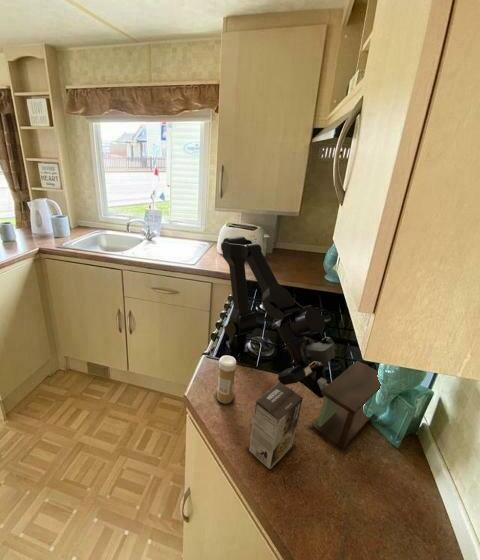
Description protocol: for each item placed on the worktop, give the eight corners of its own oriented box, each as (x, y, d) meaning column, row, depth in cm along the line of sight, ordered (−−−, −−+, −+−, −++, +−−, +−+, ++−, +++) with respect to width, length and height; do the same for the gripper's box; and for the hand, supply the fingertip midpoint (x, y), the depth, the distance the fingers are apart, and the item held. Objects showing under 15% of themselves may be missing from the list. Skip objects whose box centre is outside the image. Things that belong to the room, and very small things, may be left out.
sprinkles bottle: (235, 398, 89) (240, 360, 83) (225, 406, 86) (229, 368, 80) (223, 389, 92) (226, 352, 86) (213, 397, 89) (215, 359, 83)
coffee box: (270, 429, 80) (279, 380, 73) (292, 447, 75) (304, 396, 68) (247, 450, 74) (254, 399, 67) (269, 470, 70) (280, 418, 63)
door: (303, 414, 82) (310, 385, 78) (320, 400, 87) (327, 372, 83) (320, 427, 79) (328, 397, 75) (336, 411, 83) (345, 382, 79)
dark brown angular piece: (311, 428, 80) (321, 390, 75) (346, 396, 90) (357, 360, 85) (341, 451, 75) (354, 411, 69) (374, 413, 85) (388, 376, 79)
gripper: (296, 345, 72) (330, 411, 69) (337, 319, 82) (369, 375, 79) (264, 355, 80) (294, 414, 77) (305, 330, 91) (333, 381, 88)
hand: (324, 395), depth 80 cm, fingers closed on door, 2 cm apart
